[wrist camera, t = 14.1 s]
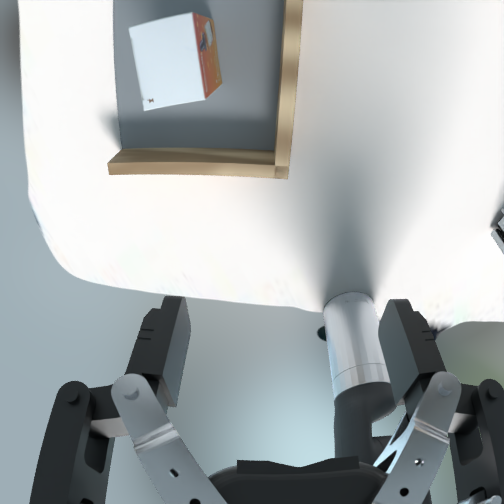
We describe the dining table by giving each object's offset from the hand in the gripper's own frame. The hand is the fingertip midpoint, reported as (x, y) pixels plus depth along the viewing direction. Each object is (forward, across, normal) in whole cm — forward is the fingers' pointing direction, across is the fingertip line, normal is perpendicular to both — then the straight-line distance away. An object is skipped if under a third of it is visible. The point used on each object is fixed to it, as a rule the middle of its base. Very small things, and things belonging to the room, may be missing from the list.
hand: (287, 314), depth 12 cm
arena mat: (+28, +9, -8) cm, 31 cm away
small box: (+28, +9, -9) cm, 31 cm away
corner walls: (+28, +9, -8) cm, 31 cm away
